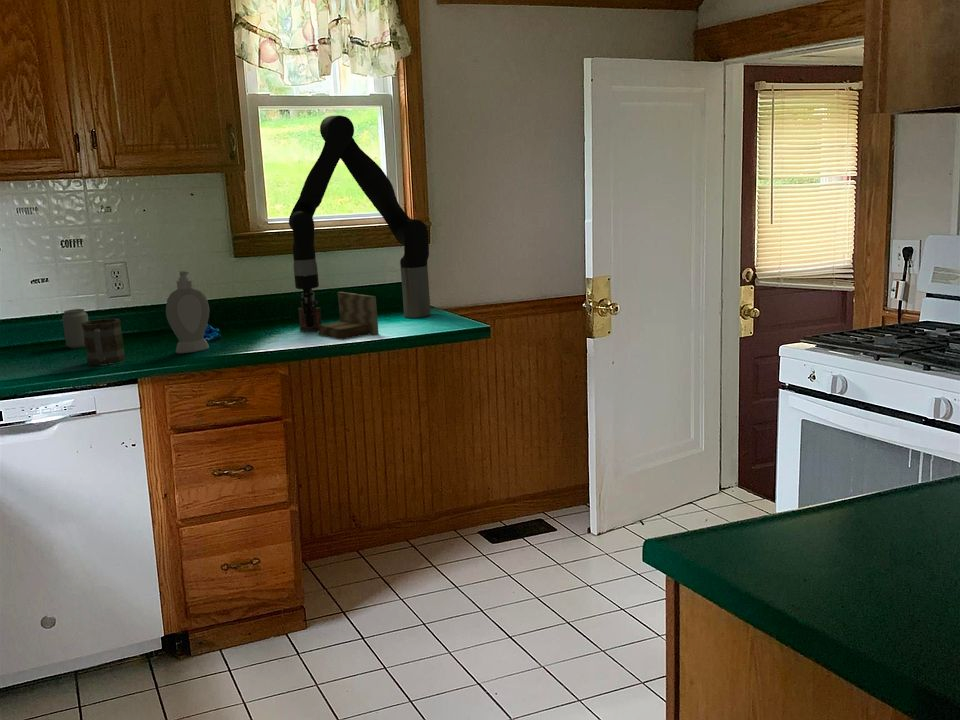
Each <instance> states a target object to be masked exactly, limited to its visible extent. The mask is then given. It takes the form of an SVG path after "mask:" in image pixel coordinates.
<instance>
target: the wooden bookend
mask: <svg viewBox="0 0 960 720" xmlns="http://www.w3.org/2000/svg"><path fill="white" fill-rule="evenodd" d="M337 301H338V311H339V321H334V322H328V323H321V324H322V325H318V331H317V332H318V335H320V336H325V337H330V338H334V339H339V340H344V339H350V338H356V337H357V338H358V337H360V336H366V335H367V336H368V335H373V336H377V335H379V333H380V332H379V321H378V310H377V309H378V308H377V296H375V295H369V294H368V295H367V294H361V293H354V292H348V291H347V292H346V291H338V292H337Z"/></svg>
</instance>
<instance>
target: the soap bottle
mask: <svg viewBox="0 0 960 720" xmlns="http://www.w3.org/2000/svg"><path fill="white" fill-rule="evenodd" d="M178 272H179V277H178V280H176V289H175V290H174V291H172V292H170V294H169V296H168V297H167V299H166V304H165V305H166V306H165V317H166V320H167V322H168V325H170V328H171V330H172V331H173V333H174V334H175V336H176V338H177V340H178V342H177V344H176V347H175V353H176V354H187V353H190V354H191V353H196V352H202V351H206V350H208V349H210V346H209V343H208V342H207V340H206V339H205V338H204V336H205V333H206V331H207V326H208V322H209V317H210V305H209V301H208V299H207V297H206V295H205V293H204V292H202V290H200V289H199V288H195V287H193V280H192V279H190V276H188V275H189V271H188V270H187V269H184V270H179V271H178Z"/></svg>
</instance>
